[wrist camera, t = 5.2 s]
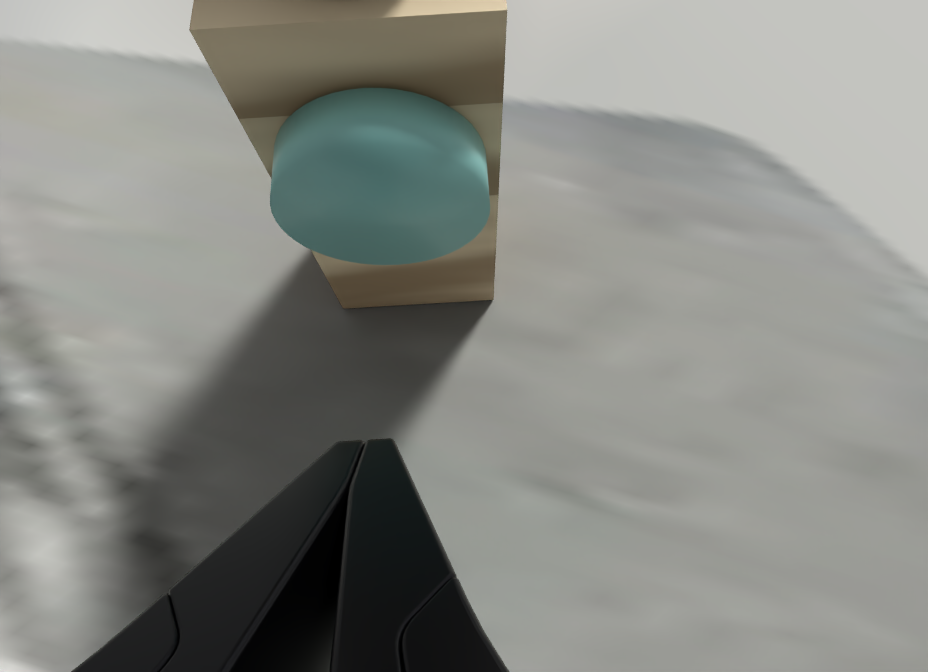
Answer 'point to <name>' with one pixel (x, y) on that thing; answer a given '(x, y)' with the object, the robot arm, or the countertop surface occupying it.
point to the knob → (379, 177)
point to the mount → (368, 66)
